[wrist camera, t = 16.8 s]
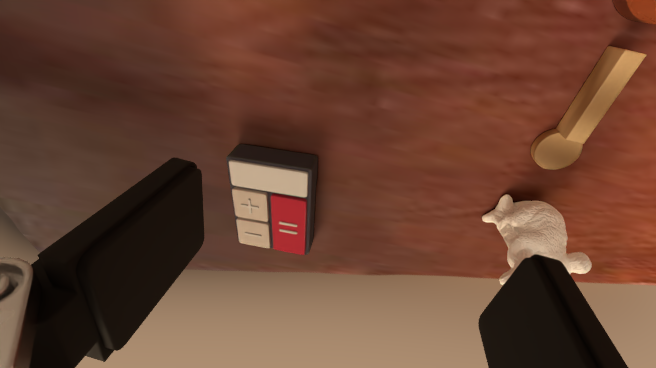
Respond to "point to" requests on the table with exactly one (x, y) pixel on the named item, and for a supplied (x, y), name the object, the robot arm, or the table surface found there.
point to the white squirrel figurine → (534, 234)
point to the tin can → (637, 10)
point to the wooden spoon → (586, 109)
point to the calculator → (273, 197)
